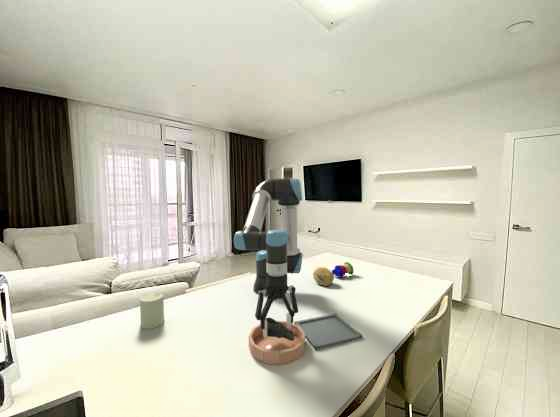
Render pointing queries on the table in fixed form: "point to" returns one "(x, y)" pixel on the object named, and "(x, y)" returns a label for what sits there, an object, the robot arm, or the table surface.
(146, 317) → the can
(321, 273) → the stone
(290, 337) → the stone
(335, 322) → the tray
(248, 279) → the table surface
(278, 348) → the bowl
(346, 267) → the toy figure
